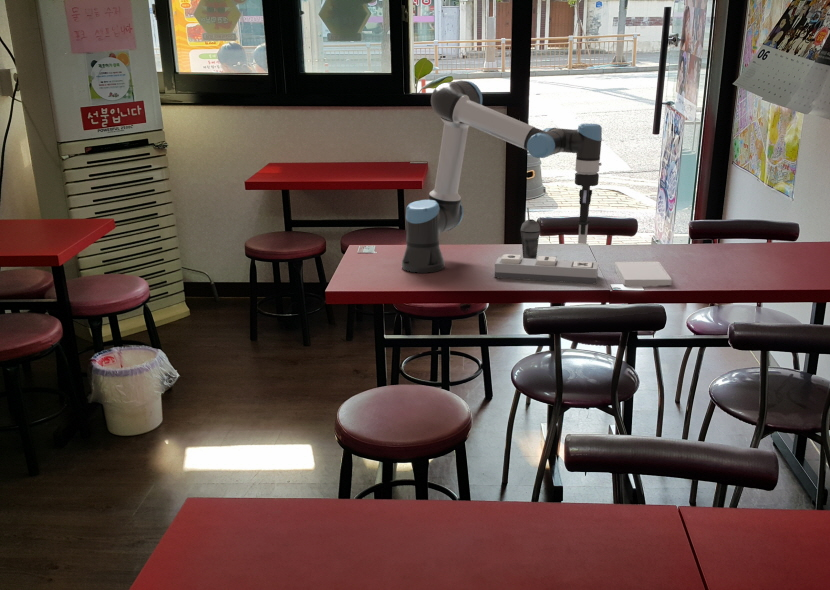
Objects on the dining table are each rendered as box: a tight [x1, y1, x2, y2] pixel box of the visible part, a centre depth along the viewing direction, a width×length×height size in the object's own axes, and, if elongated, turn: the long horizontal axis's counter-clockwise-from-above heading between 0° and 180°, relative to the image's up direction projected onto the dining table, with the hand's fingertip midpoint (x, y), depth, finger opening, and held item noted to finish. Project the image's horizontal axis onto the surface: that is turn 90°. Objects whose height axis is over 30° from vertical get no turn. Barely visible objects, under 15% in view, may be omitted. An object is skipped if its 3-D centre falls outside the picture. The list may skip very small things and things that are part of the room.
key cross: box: [573, 261, 592, 268], centre depth 272 cm, size 6×6×3 cm
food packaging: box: [614, 261, 673, 288], centre depth 273 cm, size 15×3×20 cm
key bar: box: [536, 255, 557, 266], centre depth 274 cm, size 6×6×3 cm
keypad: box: [493, 256, 599, 284], centre depth 275 cm, size 34×9×5 cm, turn 75°
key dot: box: [501, 253, 522, 264], centre depth 277 cm, size 6×6×3 cm
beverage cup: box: [519, 207, 541, 259], centre depth 292 cm, size 7×7×20 cm
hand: (582, 243), depth 269 cm, fingers closed
